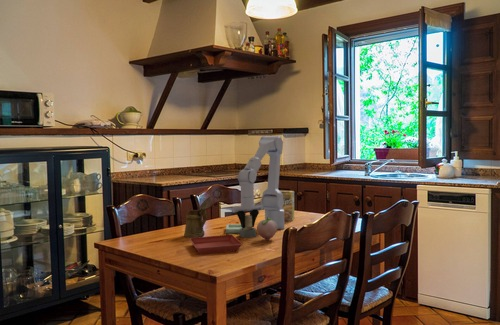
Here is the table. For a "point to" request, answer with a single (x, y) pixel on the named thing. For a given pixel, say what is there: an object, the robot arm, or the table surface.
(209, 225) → the table surface
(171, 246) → the table surface
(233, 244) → the plant saucer
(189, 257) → the table surface
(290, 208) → the candy box
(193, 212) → the brown wooden container
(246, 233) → the octagonal ring
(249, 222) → the dowel
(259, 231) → the decorative fruit
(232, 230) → the tray
